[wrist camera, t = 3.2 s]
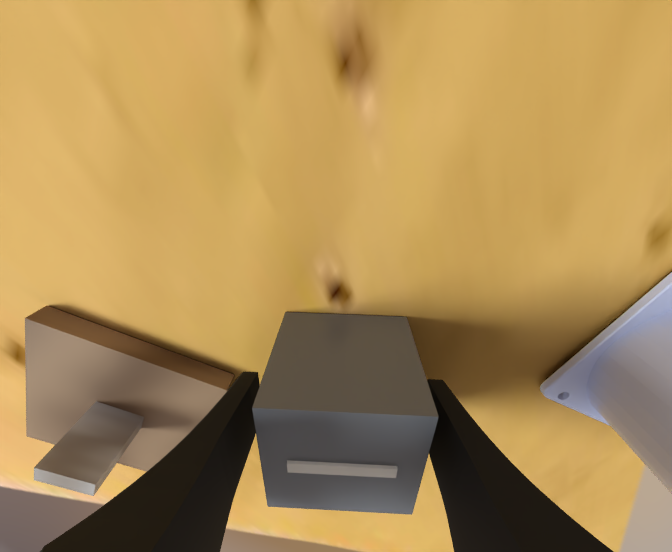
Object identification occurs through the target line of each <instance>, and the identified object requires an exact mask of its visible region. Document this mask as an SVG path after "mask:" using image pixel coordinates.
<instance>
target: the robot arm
mask: <svg viewBox="0 0 672 552" xmlns="http://www.w3.org/2000/svg"><path fill="white" fill-rule="evenodd" d="M427 382H428V385H429V388H430V391H431V394H432V397H433V401H434V404H435V407H436V410H437V413H438V416H439V418H438V421H437V425H436V429H435V432H434V436H433V440H432V443H431V447H430V451H429V454H430V458H431V461H432V465H433V468H434V471H435V475H436V478H437V481H438V485H439V488H440V492H441V495H442V498H443V502H444V506H445V510H446V514H447V519H448V523H449V528H450V533H451V538H452V542H453V547H454V552H613V551H612V550H611V549H609V548H608V547H607V546H605V545H604V544H603V543H602V542H600V541H599V540H598V539H597V538H595V537H594V536H593V535H592V534H590V533H589V532H588V531H587V530H585V529H584V528H583V527H582V526H580V525H579V524H578V523H577V522H576V521H574V520H573V519H572V518H571V517H570V516H568V515H567V514H566V513H565V512H564V511H563V510H562V509H560V508H559V507H558V506H557V505H556V504H555V503H554V502H553V501H551V500H550V499H549V498H548V497H547V496H546V495H545V494H543V493H542V492H541V491H540V490H539V489H538V488H537V487H536V486H535V485H534V484H533V483H532V482H530V481H529V480H528V479H527V478H526V477H525V476H524V475H523V474H522V473H521V472H520V471H519V470H518V469H517V468H516V467H515V466H514V465H513V464H512V463H511V462H510V461H509V460H508V458H507V457H506V456H505V455H504V454H503V453H502V452H501V451H500V450H499V449H498V448H497V447H496V445H495V444H494V443H493V442H492V441H491V440H490V439H489V438H488V436H487V435H486V434H485V433H484V432H483V431H482V429H481V428H480V427H479V426H478V425H477V423H476V422H475V421H474V420H473V418H472V417H471V416H470V415H469V414H468V412H467V411H466V410H465V409H464V407H463V406H462V405H461V403H460V402H459V401H458V399H457V398H456V397H455V395H454V394H453V393H452V392H451V390H450V389H449V387H448V386H447V385H446V383H445V382H444V381H443V380H432V379H428V381H427ZM259 387H260V385H259V378H258V372H243V373H241V375H240V376H239V377H238V378H237V380H236V381H235V382H234V383H233V385H232V386H231V387H230V388H229V389H228V391H227V392H226V393H225V394H224V395H223V397H222V398H221V399H220V400H219V401H218V402H217V404H216V405H215V406H214V407H213V408H212V409H211V410H210V411H209V413H208V414H207V415H206V416H205V417H204V418H203V419H202V420H201V421H200V422H199V423H198V424H197V425H196V426H195V427H194V428H193V430H192V431H191V432H190V433H189V434H188V435H187V436H186V437H185V438H184V439H183V440H182V441H181V442H180V443H178V444H177V445H176V446H175V447H174V448H173V449H172V450H171V451H170V452H169V453H168V454H167V455H166V456H164V457H163V458H162V459H161V460H160V461H159V462H158V463H156V464H155V465H154V466H153V467H152V468H151V469H149V470H148V471H147V472H146V473H145V474H144V475H142V476H141V477H140V478H139V479H137V480H136V481H135V482H134V483H133V484H131V485H130V486H129V487H127V488H126V489H125V490H123V491H122V492H121V493H119V494H118V495H117V496H116V497H114V498H113V499H112V500H110V501H109V502H108V503H106V504H105V505H104V506H102V507H101V508H100V509H98V510H97V511H96V512H94V513H93V514H91V515H90V516H88V517H87V518H86V519H84V520H83V521H81V522H80V523H78V524H77V525H76V526H74V527H72V528H71V529H70V530H68V531H66V532H65V533H64V534H62V535H61V536H59V537H58V538H56V539H55V540H53V541H52V542H50V543H49V544H47V545H45V546H44V547H43V549H42V550H41V551H40V552H220V549H221V545H222V541H223V537H224V533H225V529H226V525H227V521H228V517H229V513H230V509H231V505H232V502H233V498H234V495H235V492H236V489H237V486H238V483H239V480H240V477H241V474H242V471H243V469H244V466H245V463H246V460H247V457H248V454H249V451H250V448H251V445H252V443H253V440H254V437H255V434H256V429H255V423H254V417H253V410H252V407H253V404H254V401H255V398H256V395H257V392H258V390H259ZM540 391H541V392H542V394H543V395H544V396H545V397H546V398H548V399H550V400H553V401H555V402H557V403H560V404H562V405H564V406H566V407H569V408H571V409H573V410H575V411H578V412H580V413H582V414H585V415H587V416H589V417H591V418H594V419H596V420H598V421H601V422H603V423H605V424H607V425H610V426H611V427H612V428H613V429H614V430H615V431H616V432H617V433H618V435H619V436H620V437H621V438H622V439H623V440H624V441H625V442H626V444H627V445H628V446H629V447H630V448H631V449H632V450H633V451H634V452H635V454H636V455H637V456H638V457H639V458H640V459H641V460H642V461H643V462H644V464H645V465H646V466H647V467H648V468H649V469H650V470H651V471H652V472H653V474H654V475H655V476H656V477H657V478H658V479H659V480H660V481H661V482H662V484H663V485H664V486H665V487H666V488H667V489H668V490H669V491H670V492H671V494H672V272H671V273H670V274H669V275H667V276H666V277H665V278H664V279H663V280H662V281H660V282H659V283H658V284H657V285H656V286H655V287H653V288H652V289H651V290H650V291H649V292H648V293H646V294H645V295H644V296H643V297H642V298H641V299H640V300H638V301H637V302H636V303H635V304H634V305H633V306H631V307H630V308H629V309H628V310H627V311H626V312H624V313H623V314H622V315H621V316H620V317H619V318H617V319H616V320H615V321H614V322H613V323H612V324H610V325H609V326H608V327H607V328H606V329H605V330H603V331H602V332H601V333H600V334H599V335H598V336H596V337H595V338H594V339H593V340H592V341H591V342H589V343H588V344H587V345H586V346H585V347H584V348H582V349H581V350H580V351H579V352H578V353H577V354H576V355H574V356H573V357H572V358H571V359H570V360H569V361H567V362H566V363H565V364H564V365H563V366H562V367H560V368H559V369H558V370H557V371H556V372H555V373H553V374H552V375H551V376H550V377H549V378H548V379H546V380H545V381H544V382H543V383H542V384H541V386H540Z"/></svg>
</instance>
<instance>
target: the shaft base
mask: <svg viewBox="0 0 672 552" xmlns="http://www.w3.org/2000/svg"><path fill="white" fill-rule="evenodd" d="M25 355H26V427H27V437H31V438H34V439H38V440H41V441H44V442H48V443H51V444H55V446H54V447H53V448H52V449H51V450H50V451H49V452H48V453H47V454H46V456H45V457H44V458H43V459H42V460H41V461H40V462H39V463H38V464H37V465H36V466H35V467H34V480H36V481H40V482H43V483H47V484H51V485H54V486H58V487H62V488H66V489H69V490H73V491H77V492H80V493H84V494H88V495H91V496H94V494H95V493H96V492H97V490H98V489H99V487H100V486H101V484H102V483H103V482H104V480H105V479H106V477H107V476H108V475H109V473H110V472H111V470H112V469H113V467H114V466H115V465H116V463H120V464H123V465H126V466H130V467H133V468H137V469H140V470H143V471H148V470H149V469H151V468H152V467H153V466H154V465H155V464H156V463H158V462H159V461H160V460H161V459H162V458H163V457H164V456H166V455H167V454H168V453H169V452H170V451H171V450H172V449H173V448H174V447H175V446H176V445H177V444H178V443H180V442H181V441H182V440H183V439H184V438H185V437H186V436H187V435H188V434H189V433H190V432H191V431H192V430H193V428H194V427H195V426H196V425H197V424H198V423H199V422H200V421H201V420H202V419H203V418H204V417H205V416H206V415H207V414H208V413H209V411H210V410H211V409H212V408H213V407H214V406H215V405H216V404H217V402H218V401H219V400H220V399H221V398H222V397H223V395H224V394H225V393H226V392H227V390H228V388H229V385H230V383H231V381H232V379H233V377H234V374H231V373H228V372H226V371H223V370H220V369H217V368H215V367H212V366H209V365H207V364H204V363H201V362H199V361H196V360H193V359H190V358H188V357H185V356H182V355H180V354H177V353H174V352H171V351H169V350H166V349H163V348H161V347H158V346H155V345H152V344H150V343H147V342H144V341H142V340H139V339H136V338H133V337H131V336H128V335H125V334H123V333H120V332H117V331H114V330H112V329H109V328H106V327H104V326H101V325H98V324H96V323H93V322H90V321H87V320H85V319H82V318H79V317H77V316H74V315H71V314H68V313H66V312H63V311H60V310H58V309H55V308H52V307H49V306H45V307H44V308H42V309H40V310H38V311H37V312H35V313H33V314H31V315H30V316H28V317H26V318H25Z"/></svg>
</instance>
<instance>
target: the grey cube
mask: <svg viewBox="0 0 672 552" xmlns="http://www.w3.org/2000/svg"><path fill="white" fill-rule="evenodd" d="M252 410H253V417H254V423H255V429H256V436H257V442H258V448H259V454H260V461H261V467H262V473H263V480H264V486H265V492H266V499H267V505H268V507H286V508H304V509H322V510H340V511H358V512H376V513H394V514H412V513H413V509H414V505H415V502H416V498H417V494H418V491H419V487H420V483H421V480H422V476H423V472H424V469H425V465H426V462H427V458H428V454H429V451H430V447H431V443H432V440H433V436H434V432H435V429H436V425H437V421H438V418H439V416H438V413H437V410H436V407H435V404H434V401H433V397H432V394H431V391H430V388H429V385H428V382H427V379H426V376H425V373H424V369H423V366H422V363H421V360H420V357H419V354H418V351H417V348H416V344H415V341H414V338H413V335H412V332H411V329H410V326H409V323H408V320H407V317H400V316H375V315H350V314H324V313H299V312H285V315H284V318H283V321H282V323H281V326H280V329H279V332H278V335H277V338H276V341H275V344H274V346H273V349H272V352H271V355H270V358H269V361H268V364H267V367H266V369H265V372H264V375H263V378H262V381H261V384H260V387H259V390H258V392H257V395H256V398H255V401H254V404H253V407H252Z"/></svg>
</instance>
